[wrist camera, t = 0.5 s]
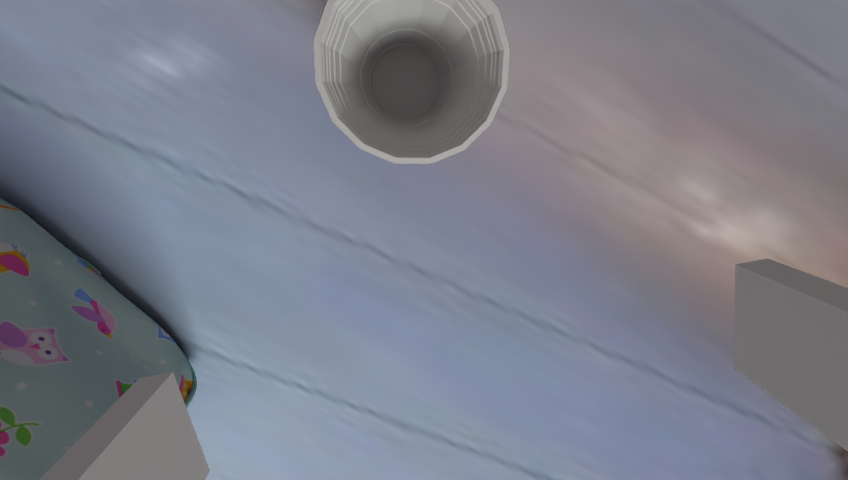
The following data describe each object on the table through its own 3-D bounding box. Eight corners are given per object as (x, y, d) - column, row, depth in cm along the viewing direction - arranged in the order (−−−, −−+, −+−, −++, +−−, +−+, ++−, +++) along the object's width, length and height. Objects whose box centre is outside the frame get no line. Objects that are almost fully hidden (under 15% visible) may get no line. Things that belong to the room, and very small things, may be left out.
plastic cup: (425, 179, 37) (438, 203, 26) (313, 103, 35) (273, 90, 24) (502, 67, 36) (554, 38, 24) (389, -21, 33) (386, -99, 22)
